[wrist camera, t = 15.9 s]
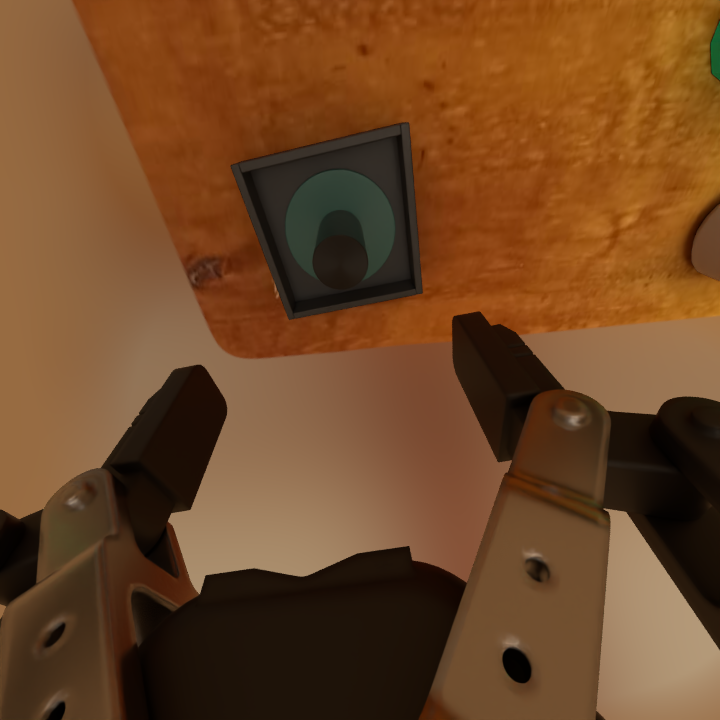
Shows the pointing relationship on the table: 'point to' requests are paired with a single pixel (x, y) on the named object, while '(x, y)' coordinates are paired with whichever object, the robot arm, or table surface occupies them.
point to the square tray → (293, 167)
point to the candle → (716, 53)
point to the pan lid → (340, 227)
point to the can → (708, 246)
